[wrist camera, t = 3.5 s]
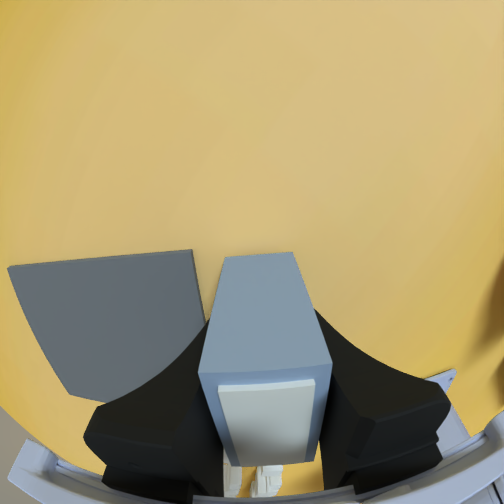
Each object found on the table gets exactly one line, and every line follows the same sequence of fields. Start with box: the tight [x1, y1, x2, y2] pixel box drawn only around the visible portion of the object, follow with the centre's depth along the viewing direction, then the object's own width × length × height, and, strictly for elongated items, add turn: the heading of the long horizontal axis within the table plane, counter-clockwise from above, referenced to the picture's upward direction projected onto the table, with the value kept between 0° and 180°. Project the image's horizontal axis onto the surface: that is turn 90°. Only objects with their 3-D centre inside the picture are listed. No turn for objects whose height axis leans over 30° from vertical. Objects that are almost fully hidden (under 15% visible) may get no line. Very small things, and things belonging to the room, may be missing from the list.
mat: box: [7, 249, 206, 403], centre depth 15 cm, size 12×14×1 cm
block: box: [198, 252, 333, 467], centre depth 10 cm, size 6×3×7 cm, turn 5°
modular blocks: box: [223, 449, 283, 498], centre depth 19 cm, size 20×7×4 cm, turn 176°
